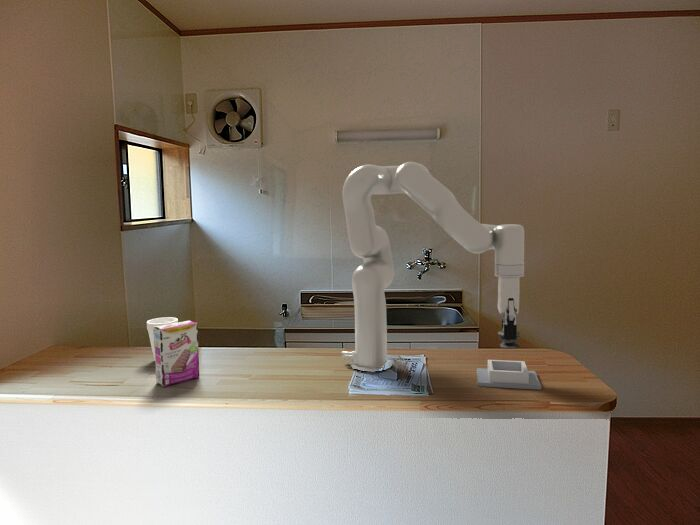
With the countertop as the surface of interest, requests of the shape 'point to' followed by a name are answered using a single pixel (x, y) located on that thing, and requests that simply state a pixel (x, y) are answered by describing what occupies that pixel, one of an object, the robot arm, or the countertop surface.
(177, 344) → the candy bar box
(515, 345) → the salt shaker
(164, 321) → the foam cup
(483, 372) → the holder
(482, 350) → the countertop surface
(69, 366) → the countertop surface
